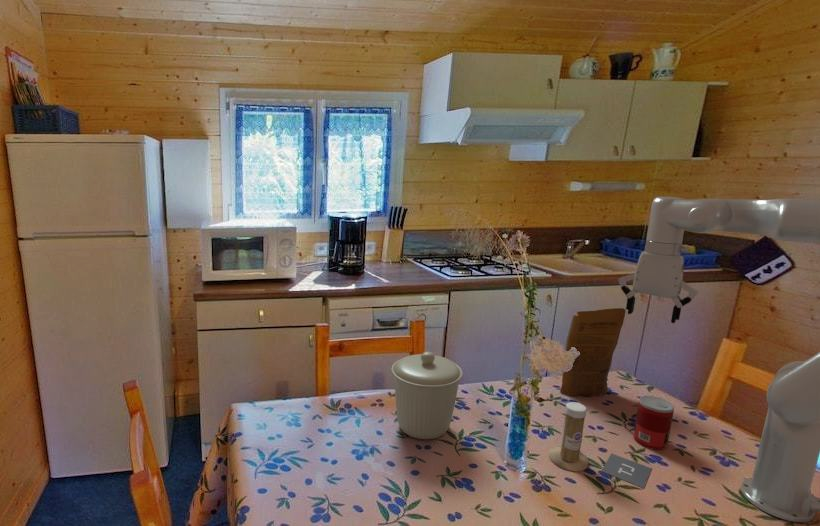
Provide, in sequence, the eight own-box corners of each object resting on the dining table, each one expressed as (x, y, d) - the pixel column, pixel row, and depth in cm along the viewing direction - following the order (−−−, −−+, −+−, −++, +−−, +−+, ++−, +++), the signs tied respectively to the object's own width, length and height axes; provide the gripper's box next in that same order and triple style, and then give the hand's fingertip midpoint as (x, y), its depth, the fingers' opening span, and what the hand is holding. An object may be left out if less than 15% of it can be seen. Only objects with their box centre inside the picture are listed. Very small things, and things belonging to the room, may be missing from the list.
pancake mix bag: (619, 397, 145) (633, 310, 139) (563, 400, 141) (574, 311, 135) (607, 387, 151) (619, 304, 146) (552, 389, 148) (562, 304, 142)
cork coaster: (593, 458, 113) (593, 456, 113) (581, 476, 106) (581, 474, 106) (556, 443, 118) (556, 441, 118) (543, 460, 111) (543, 458, 111)
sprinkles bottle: (569, 465, 109) (576, 412, 106) (555, 454, 113) (561, 403, 110) (583, 460, 111) (591, 408, 108) (569, 450, 115) (576, 399, 112)
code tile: (651, 468, 110) (651, 468, 110) (643, 488, 103) (643, 488, 103) (611, 453, 115) (611, 453, 115) (601, 471, 108) (601, 470, 108)
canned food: (671, 452, 117) (678, 412, 115) (637, 447, 119) (644, 407, 116) (661, 435, 124) (668, 397, 122) (629, 431, 126) (635, 393, 124)
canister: (471, 439, 118) (478, 361, 114) (406, 455, 110) (411, 372, 106) (437, 405, 134) (441, 336, 130) (378, 417, 126) (381, 343, 122)
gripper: (706, 252, 110) (693, 322, 113) (627, 242, 120) (617, 306, 123) (703, 256, 104) (689, 329, 107) (620, 245, 114) (610, 312, 117)
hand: (651, 317), depth 115 cm, fingers open, 9 cm apart
